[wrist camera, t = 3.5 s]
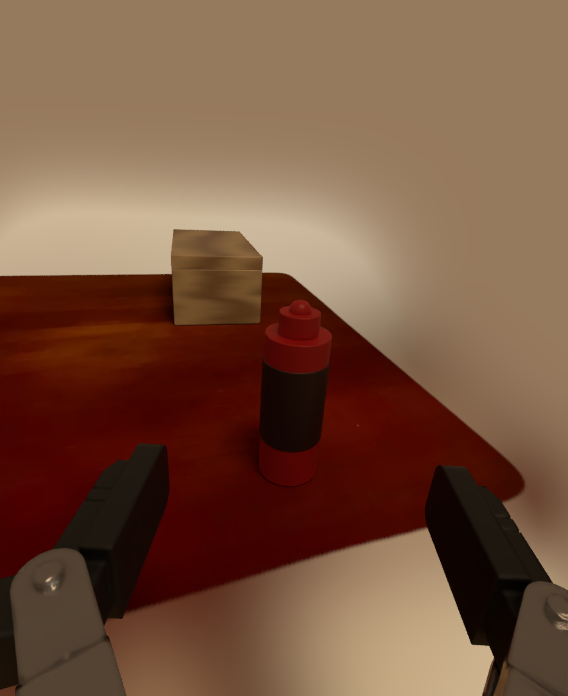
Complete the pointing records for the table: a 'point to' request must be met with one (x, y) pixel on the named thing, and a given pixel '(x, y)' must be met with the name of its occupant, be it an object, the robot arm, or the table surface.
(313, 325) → the red water bottle
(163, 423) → the table surface
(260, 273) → the wooden block
